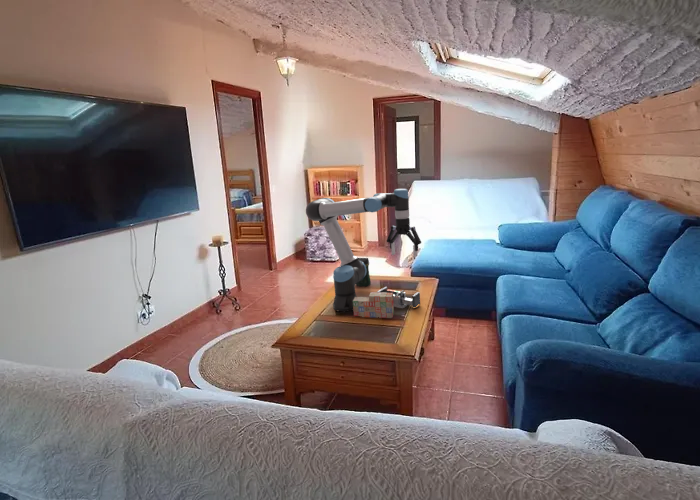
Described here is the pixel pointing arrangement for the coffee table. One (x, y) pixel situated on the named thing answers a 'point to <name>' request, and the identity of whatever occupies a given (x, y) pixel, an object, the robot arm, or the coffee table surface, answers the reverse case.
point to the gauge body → (395, 297)
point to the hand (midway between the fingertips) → (404, 255)
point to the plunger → (409, 301)
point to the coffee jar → (366, 279)
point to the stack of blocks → (374, 305)
